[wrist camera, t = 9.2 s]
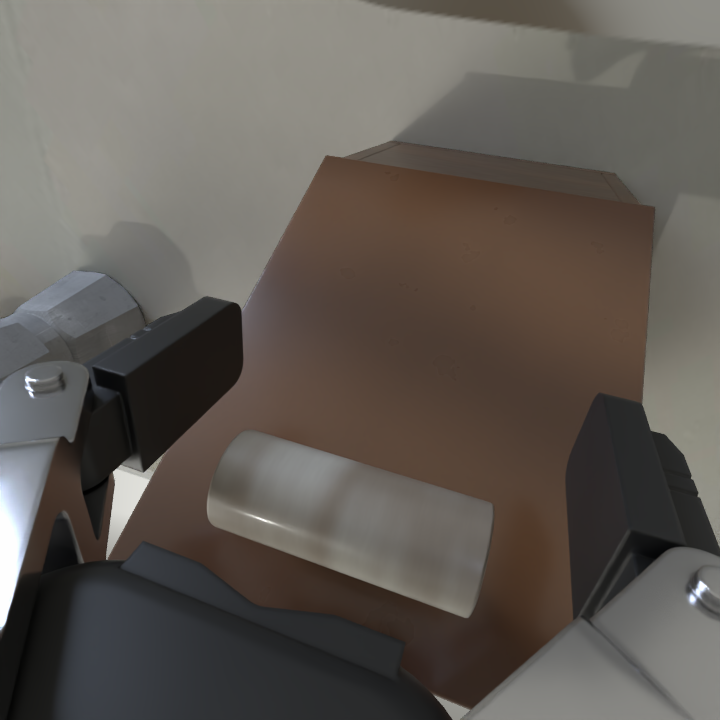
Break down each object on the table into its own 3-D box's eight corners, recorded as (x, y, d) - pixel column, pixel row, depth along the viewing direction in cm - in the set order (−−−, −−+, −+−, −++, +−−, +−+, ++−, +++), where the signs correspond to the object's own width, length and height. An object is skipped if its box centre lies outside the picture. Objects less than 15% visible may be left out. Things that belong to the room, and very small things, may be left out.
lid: (605, 761, 10) (766, 868, 6) (120, 565, 13) (-33, 530, 9) (646, 222, 18) (732, 78, 13) (328, 170, 20) (306, 36, 16)
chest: (533, 405, 34) (530, 505, 26) (364, 362, 37) (314, 439, 29) (615, 173, 26) (648, 211, 18) (390, 140, 29) (330, 160, 20)
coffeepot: (45, 324, 46) (-189, 436, 31) (44, 237, 41) (-239, 322, 26) (182, 400, 45) (5, 552, 30) (198, 320, 40) (-6, 458, 25)
